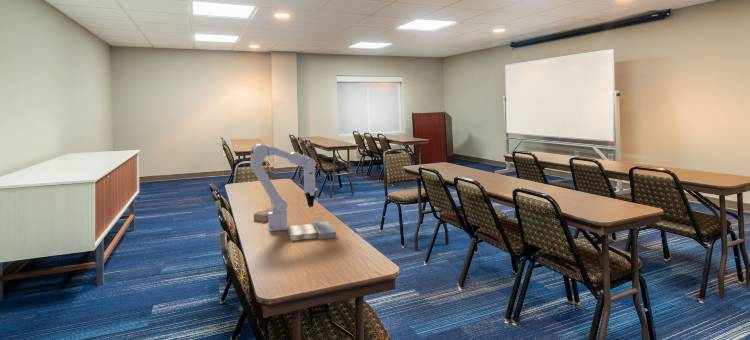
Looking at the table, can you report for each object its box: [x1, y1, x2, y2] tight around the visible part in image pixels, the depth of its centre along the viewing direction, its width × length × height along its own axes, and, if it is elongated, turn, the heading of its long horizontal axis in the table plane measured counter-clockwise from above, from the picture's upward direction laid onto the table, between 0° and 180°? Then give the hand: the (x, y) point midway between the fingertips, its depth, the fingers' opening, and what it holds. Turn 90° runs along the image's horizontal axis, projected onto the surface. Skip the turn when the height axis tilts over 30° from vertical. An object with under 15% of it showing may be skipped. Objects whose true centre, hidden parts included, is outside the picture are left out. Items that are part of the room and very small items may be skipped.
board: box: [311, 220, 337, 240], centre depth 207 cm, size 8×20×3 cm, turn 17°
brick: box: [253, 207, 273, 223], centre depth 237 cm, size 17×8×5 cm, turn 149°
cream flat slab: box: [287, 223, 319, 242], centre depth 204 cm, size 12×16×2 cm
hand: (310, 206), depth 221 cm, fingers closed
